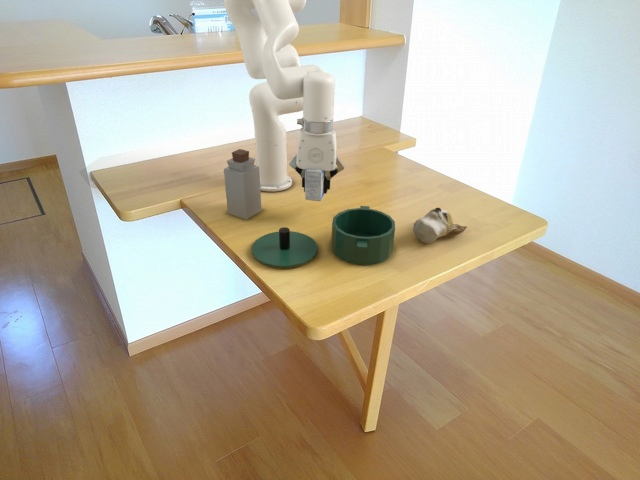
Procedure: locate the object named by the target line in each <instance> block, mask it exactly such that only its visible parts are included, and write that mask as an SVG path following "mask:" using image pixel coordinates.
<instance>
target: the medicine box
mask: <svg viewBox="0 0 640 480" xmlns="http://www.w3.org/2000/svg"><path fill="white" fill-rule="evenodd" d="M325 176H326V174H325V171H323V170H317V169H306V171H305V192H304V199H305V200H306V201H314V202H322V200H323V197H324V195H325V193H324V180H325Z"/></svg>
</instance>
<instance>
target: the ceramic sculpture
mask: <svg viewBox="0 0 640 480" xmlns="http://www.w3.org/2000/svg"><path fill="white" fill-rule="evenodd" d="M467 228H468V226H467V225H461V224H457V223H453V217H452V214H451V213H450V212H449V211H447V210H445V209H443V208H441V207H435V208H433V209H430V211H429V212H428V213H426V214H425V215H424V216H423V217H422V218H418V219H417V220H415V222H414V223H413V234H414V236H415V238H416V239H418V241H419V242H421V243H422V244H428V245H432V244H433V243H435V242H436V240H437V239H438V238H442V237H445V236H458V235H460V234H462V233H464V232H465V230H466V229H467Z"/></svg>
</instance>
